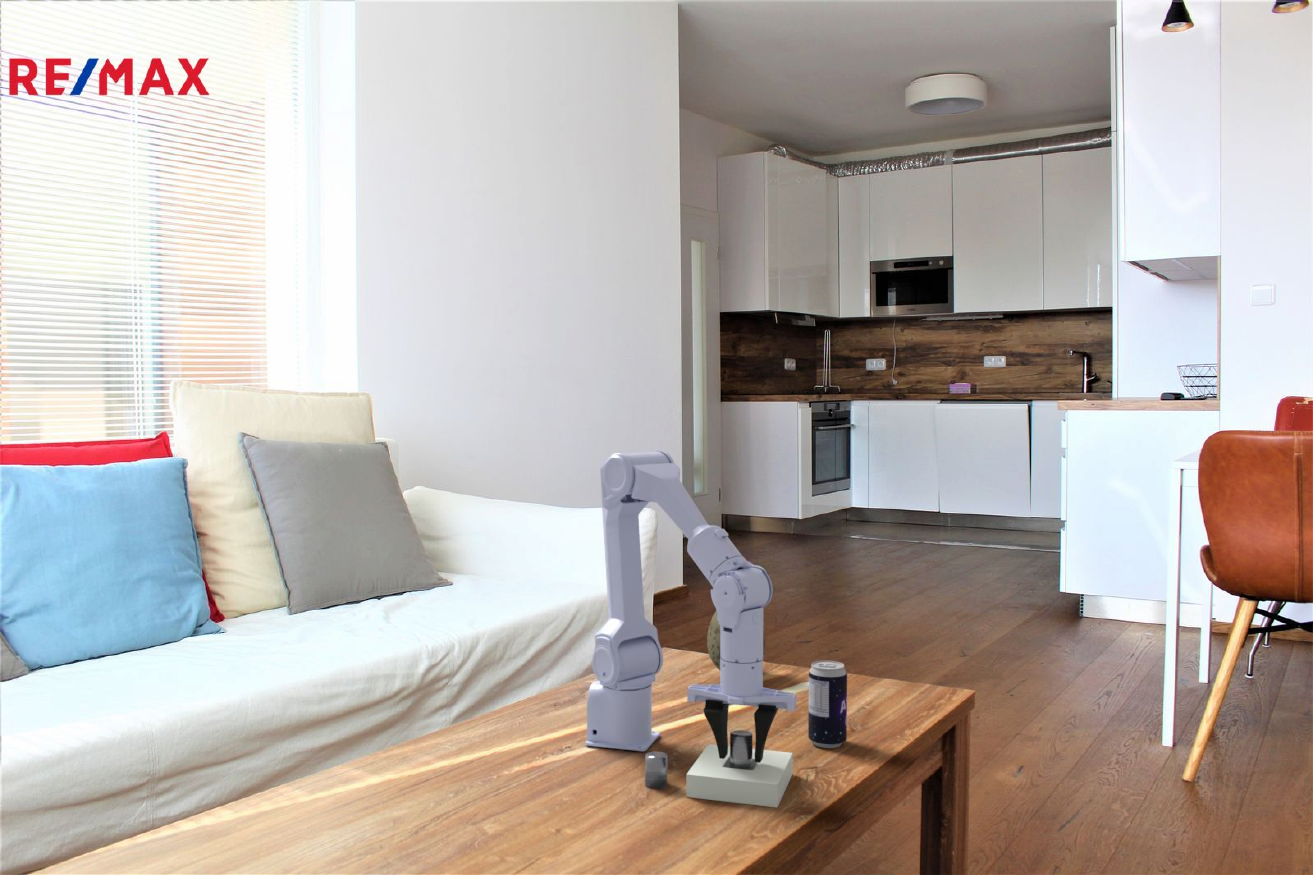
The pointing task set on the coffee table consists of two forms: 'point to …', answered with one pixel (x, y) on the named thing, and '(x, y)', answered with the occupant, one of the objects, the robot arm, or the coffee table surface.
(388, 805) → the coffee table surface
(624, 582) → the robot arm
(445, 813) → the coffee table surface
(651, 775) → the short pin
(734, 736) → the long pin
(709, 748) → the hole block
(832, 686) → the beverage can
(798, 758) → the coffee table surface
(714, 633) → the decorative egg
